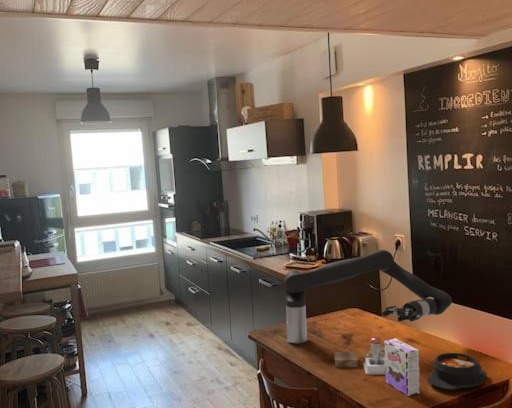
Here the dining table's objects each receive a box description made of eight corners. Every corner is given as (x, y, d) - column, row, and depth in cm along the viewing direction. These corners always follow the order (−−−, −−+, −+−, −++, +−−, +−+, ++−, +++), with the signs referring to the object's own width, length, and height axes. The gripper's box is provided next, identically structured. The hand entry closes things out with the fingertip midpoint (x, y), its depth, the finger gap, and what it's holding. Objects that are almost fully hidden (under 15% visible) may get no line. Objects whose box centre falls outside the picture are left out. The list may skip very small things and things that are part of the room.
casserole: (456, 365, 210) (456, 345, 209) (499, 380, 194) (499, 358, 193) (414, 382, 196) (414, 360, 196) (457, 400, 181) (456, 376, 180)
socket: (365, 374, 206) (365, 366, 205) (363, 364, 216) (363, 357, 215) (391, 374, 205) (391, 366, 204) (387, 364, 215) (387, 356, 214)
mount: (335, 367, 214) (335, 360, 214) (334, 358, 223) (334, 352, 223) (357, 366, 213) (357, 359, 213) (355, 358, 222) (355, 351, 222)
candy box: (384, 382, 198) (383, 340, 197) (397, 379, 200) (396, 337, 199) (407, 396, 185) (405, 352, 184) (420, 393, 187) (419, 349, 186)
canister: (372, 369, 208) (370, 340, 208) (371, 365, 212) (369, 337, 212) (382, 369, 208) (381, 340, 207) (381, 365, 212) (379, 336, 211)
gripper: (403, 297, 231) (377, 303, 222) (430, 304, 219) (403, 311, 211) (403, 314, 232) (377, 320, 223) (429, 322, 220) (403, 329, 211)
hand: (390, 316), depth 217 cm, fingers open, 8 cm apart
